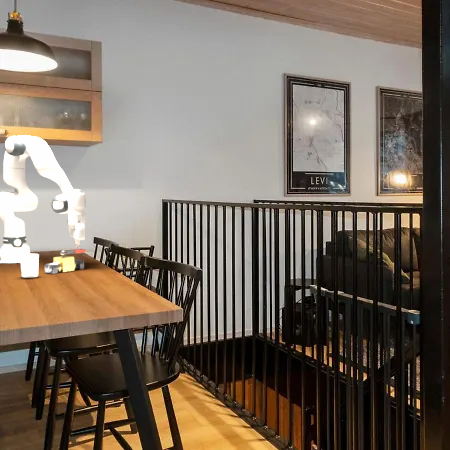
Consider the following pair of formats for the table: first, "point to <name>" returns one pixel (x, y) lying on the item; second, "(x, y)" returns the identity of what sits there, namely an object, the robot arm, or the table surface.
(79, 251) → the lever
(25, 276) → the white cup
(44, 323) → the table surface
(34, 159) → the robot arm
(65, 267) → the valve
